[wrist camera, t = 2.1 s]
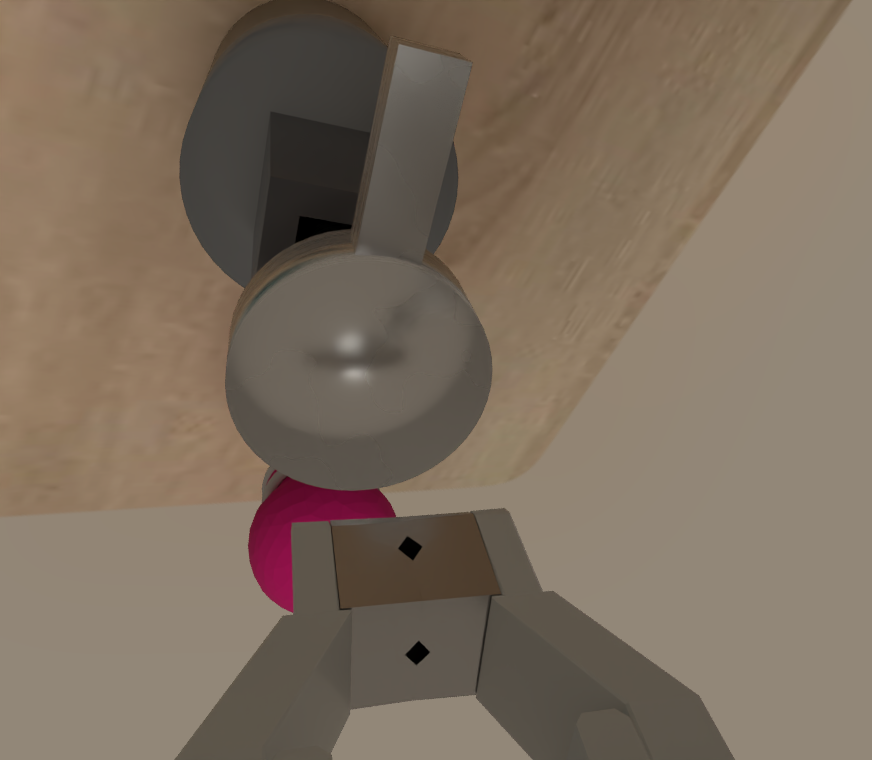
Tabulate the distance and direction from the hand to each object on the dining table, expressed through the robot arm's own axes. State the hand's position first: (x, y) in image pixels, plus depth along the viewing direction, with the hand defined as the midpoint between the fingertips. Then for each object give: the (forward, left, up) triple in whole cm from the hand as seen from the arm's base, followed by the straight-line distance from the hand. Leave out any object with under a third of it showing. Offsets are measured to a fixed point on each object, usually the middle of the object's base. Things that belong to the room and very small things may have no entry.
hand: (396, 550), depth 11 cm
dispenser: (0, 0, -31) cm, 31 cm away
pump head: (-1, -1, -13) cm, 13 cm away
